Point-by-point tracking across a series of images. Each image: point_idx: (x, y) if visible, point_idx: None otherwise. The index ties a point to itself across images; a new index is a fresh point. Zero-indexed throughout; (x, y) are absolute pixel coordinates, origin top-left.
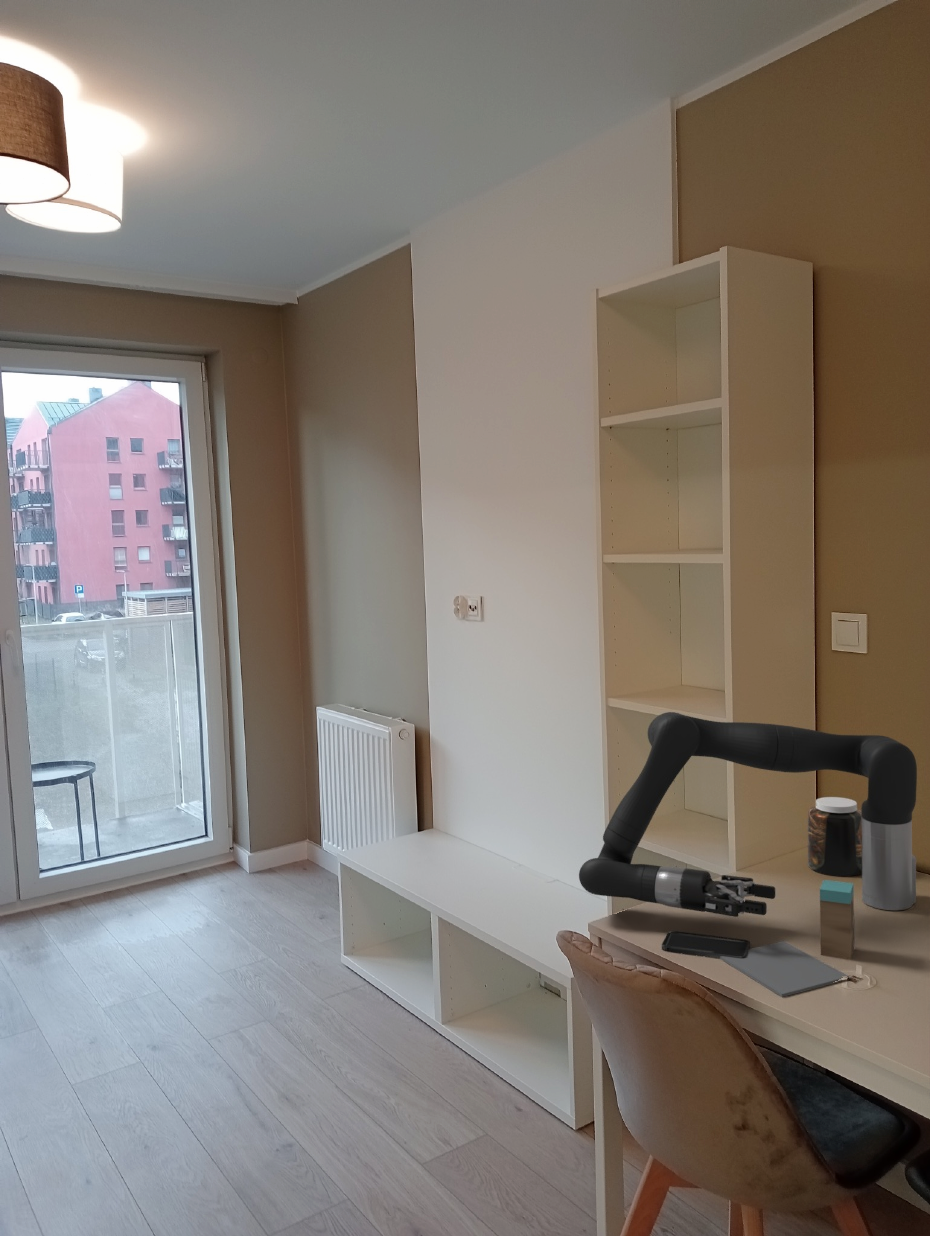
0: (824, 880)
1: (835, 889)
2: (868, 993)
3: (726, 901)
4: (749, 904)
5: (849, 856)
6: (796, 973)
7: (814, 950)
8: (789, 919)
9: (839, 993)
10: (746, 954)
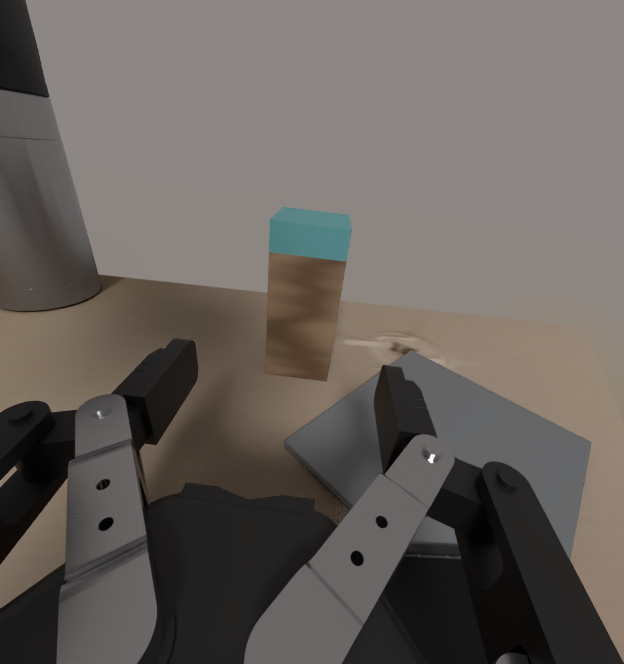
0: (276, 219)
1: (338, 219)
2: (440, 341)
3: (540, 543)
4: (427, 421)
5: None
6: (465, 416)
7: (305, 389)
8: None
9: (472, 367)
10: (454, 546)
